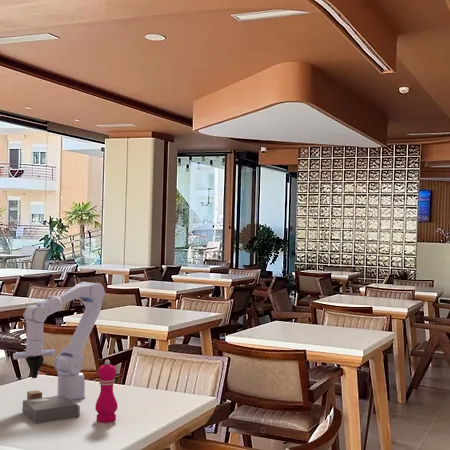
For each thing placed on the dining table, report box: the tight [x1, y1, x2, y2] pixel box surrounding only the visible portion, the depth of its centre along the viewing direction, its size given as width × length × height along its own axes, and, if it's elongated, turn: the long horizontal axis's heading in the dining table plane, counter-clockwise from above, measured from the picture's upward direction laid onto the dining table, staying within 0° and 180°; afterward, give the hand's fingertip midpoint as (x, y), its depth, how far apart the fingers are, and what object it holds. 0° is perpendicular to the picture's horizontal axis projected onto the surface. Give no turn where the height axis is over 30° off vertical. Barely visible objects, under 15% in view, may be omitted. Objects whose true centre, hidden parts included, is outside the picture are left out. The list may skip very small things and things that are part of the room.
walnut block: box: [26, 389, 43, 400], centre depth 231 cm, size 4×4×5 cm
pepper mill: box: [95, 359, 118, 424], centre depth 216 cm, size 7×7×20 cm
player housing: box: [22, 395, 78, 424], centre depth 221 cm, size 14×14×4 cm
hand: (34, 377), depth 232 cm, fingers closed
